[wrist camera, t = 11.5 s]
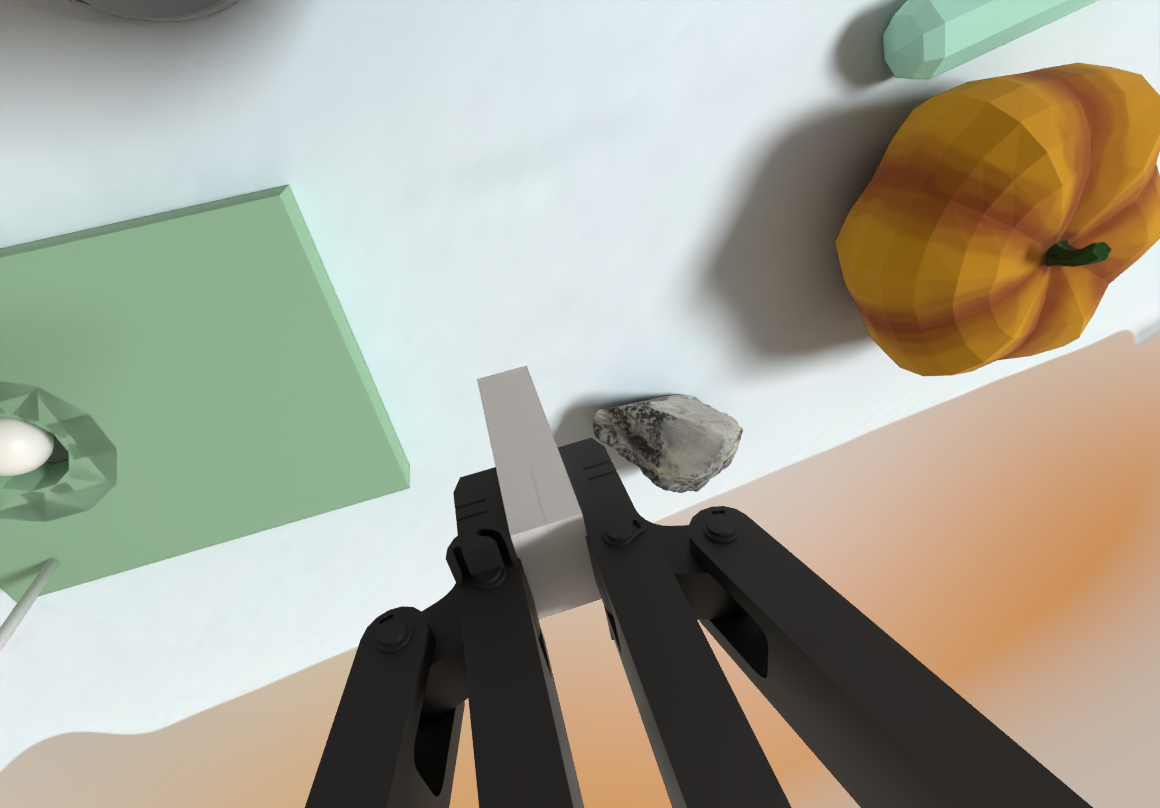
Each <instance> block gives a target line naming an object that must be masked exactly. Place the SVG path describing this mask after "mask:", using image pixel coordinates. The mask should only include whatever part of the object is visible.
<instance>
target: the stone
mask: <svg viewBox="0 0 1160 808" xmlns="http://www.w3.org/2000/svg"><path fill="white" fill-rule="evenodd" d="M593 430H594V434H595V436H596V437H597V438H598V439H599V440H600V441H601V442H604V443H606V444H608V445H609V446H611V447H613V448H615V449H616V450H617V451H618V454H619V455H621V456H623V457H625V458H626V459H627V460H628V461H629V462H632V463H634V464H636V465H637V466H639V467H640V469H641V471H642V472H643V474H644V475H645V476H646V477H648V479H650V480H651V481H652V483H654V484H655V485H656V486H658V487H660V488H662V489H663V490H668V491H673V492H679V493H683V492H686V491H688V490H689V491H696V492H697V491H699V490H700V489H701V488H702V487H703V486H705V485H706V484H707V482H708V481H709V480H710V479H711V478H713V477H714V476H716V475H717V474H719V473H720V472H721V471H722V470H723V469H725V468H727V467H728V466H729V465H730V464H731V462H732V459H733V457H734V455H735V453H736V451H737V449H738V444H739V442H740V439H741V434H742V432H743V430H742V428H741V427H739V425H738V422H737V421H736V420H735V419H734V418H732V417H731V416H729V415H728V414H726V413H722V412H719V411H717V410H716V409H714V408H712V407H711V406H709V405H706V404H704V403H702V402H701V401H700V400H699V399H697V398H696V397H693V396H688V395H682V394H676V395H671V396H662V397H659V398H653V399H650V400H646V401H640V402H636V403H631V404H627V405H622V406H617V407H609V408H604V409H600V410H598V411H597V412H596V415H595V417H594V419H593Z"/></svg>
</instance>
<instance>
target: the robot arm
mask: <svg viewBox="0 0 1160 808" xmlns="http://www.w3.org/2000/svg"><path fill="white" fill-rule="evenodd" d="M70 1H72V2H75V3H77V4H80V5H83V6H85V7H88V8H91V9H94V10H97V11H100V12H104V13H108V14H112V15H116V16H121V17H126V18H132V19H141V20H151V21H166V22H174V21H187V20H194V19H199V18H203V17H207V16H210V15H213V14H216V13H218V12H221V11H223V10H225V9H227V8H229V7H231V6H232V5H234V4H236V3H237V2H239V1H240V0H70ZM477 381H478V386H479V390H480V395H481V400H482V404H483V409H484V414H485V419H486V423H487V428H488V433H489V437H490V442H491V447H492V452H493V456H494V461H495V466H496V467H495V468H491V469H488V470H484V471H481V472H478V473H474V474H471V475H467V476H464V477H460V479H459V481H458V484H457V486H456V488H455V491H454V503H455V509H456V510H455V512H456V520H457V531H458V536H457V537H456V538H454V539H453V541H452V542H451V544H450V546H449V547H448V549H447V554H446V560H447V563H448V565H449V567H450V570H451V572H452V574H453V576H454V579H455V581H456V584H455V586H454V587H453V589H452V590H451V591H450V592H449V593H448V594H447V595H446V596H445V597H443V598H442V599H441V600H439V601H438V602H436V603H435V604H433V605H432V606H430V607H428V608H427V609H425V610H424V611H422V612H421V611H419V610H418V609H416V608H414V607H398V608H395V609H391V610H389V611H387V612H385V613H384V614H382V615H380V616H379V617H377V618H376V619H375V620H374V621H373V622H372V623H371V624H370V625H369V626H368V627H367V629H366V631H365V633H364V634H363V636H362V638H361V640H360V643H359V646H358V649H357V653H356V655H355V658H354V661H353V665H352V668H351V671H350V674H349V677H348V680H347V683H346V686H345V689H344V692H343V695H342V698H341V701H340V704H339V707H338V710H337V713H336V716H335V719H334V722H333V725H332V728H331V731H330V734H329V737H328V740H327V743H326V746H325V749H324V752H323V755H322V758H321V761H320V764H319V767H318V770H317V773H316V776H315V779H314V782H313V785H312V788H311V791H310V794H309V797H308V800H307V803H306V806H305V808H449V805H450V798H451V791H452V784H453V778H454V771H455V765H456V758H457V752H458V745H459V738H460V732H461V725H462V719H463V712H464V705H465V703H464V701H465V700H466V699H467V698H469V707H470V718H471V728H472V738H473V748H474V759H475V768H476V779H477V789H478V800H479V808H584V805H583V800H582V796H581V792H580V788H579V783H578V780H577V775H576V771H575V766H574V762H573V758H572V754H571V750H570V746H569V741H568V737H567V733H566V728H565V724H564V720H563V716H562V711H561V707H560V703H559V699H558V694H557V690H556V686H555V682H554V678H553V673H552V669H551V665H550V661H549V657H548V652H547V648H546V644H545V640H544V637H543V634H542V631H541V628H540V624H539V620H538V619H541V618H544V617H547V616H551V615H554V614H557V613H560V612H563V611H566V610H569V609H572V608H575V607H578V606H581V605H584V604H587V603H590V602H593V601H596V600H599V599H601V598H602V601H603V603H604V607H605V612H606V616H607V620H608V625H609V629H610V634H611V638H612V640H615V643H616V646H617V649H618V652H619V655H620V658H621V660H622V663H623V666H624V669H625V672H626V675H627V678H628V681H629V684H630V686H631V689H632V692H633V695H634V697H635V701H636V704H637V707H638V709H639V712H640V715H641V718H642V721H643V724H644V727H645V730H646V732H647V735H648V738H649V741H650V744H651V747H652V750H653V752H654V756H655V758H656V761H657V764H658V767H659V770H660V773H661V775H662V779H663V782H664V784H665V787H666V790H667V793H668V796H669V799H670V802H671V805H672V808H791V806H790V804H789V802H788V800H787V798H786V796H785V794H784V792H783V790H782V788H781V786H780V784H779V782H778V780H777V778H776V776H775V774H774V772H773V770H772V768H771V766H770V764H769V762H768V760H767V758H766V756H765V754H764V752H763V750H762V748H761V746H760V744H759V742H758V740H757V738H756V736H755V734H754V732H753V730H752V728H751V726H750V724H749V722H748V720H747V718H746V716H745V714H744V712H743V710H742V709H741V706H740V704H739V703H738V700H737V698H736V696H735V694H734V692H733V691H732V689H731V686H730V685H729V683H728V681H727V679H726V677H725V675H724V673H723V671H722V669H721V667H720V665H719V663H718V661H717V659H716V657H715V655H714V653H713V651H712V649H711V647H710V645H709V643H708V641H707V639H706V637H705V635H704V633H703V631H702V629H701V627H700V625H699V623H698V621H697V620H700V622H701V623H702V625H703V626H704V627H705V628H706V629H707V630H708V631H709V633H710V634H711V635H712V636H713V637H714V638H715V639H716V641H717V642H718V643H719V644H720V645H721V646H722V648H723V649H724V650H725V651H726V652H727V653H728V655H729V656H730V657H731V658H732V659H733V660H734V661H735V662H736V664H737V665H738V666H739V667H740V668H741V669H742V671H743V672H744V673H745V674H746V675H747V676H748V678H749V679H750V680H751V681H752V682H753V683H754V685H755V686H756V687H757V688H758V689H759V690H760V691H761V693H762V694H763V695H764V696H765V697H766V698H767V699H768V701H769V702H770V703H771V704H772V705H773V707H774V708H775V709H776V710H777V711H778V712H779V713H780V715H781V716H782V717H783V718H784V719H785V720H786V722H787V723H788V724H789V725H790V726H791V727H792V729H793V730H794V731H795V732H796V733H797V734H798V735H799V737H800V738H801V739H802V740H803V741H804V742H805V743H806V745H807V746H808V747H809V748H810V749H811V750H812V752H813V753H814V754H815V755H816V756H817V757H818V759H819V760H820V761H821V762H822V763H823V764H824V765H825V767H826V768H827V769H828V770H829V771H830V772H831V774H832V775H833V776H834V777H835V778H836V779H837V781H838V782H839V783H840V784H841V785H842V786H843V787H844V789H845V790H846V791H847V792H848V793H849V794H850V796H851V797H852V798H853V799H854V800H855V801H856V802H857V804H858V805H859V806H860V807H861V808H1093V807H1092V806H1090V805H1089V804H1088V803H1087V802H1086V801H1084V800H1083V799H1082V798H1081V797H1080V796H1079V795H1077V794H1076V793H1075V792H1074V791H1073V790H1071V789H1070V788H1069V787H1068V786H1067V785H1065V784H1064V783H1063V782H1062V781H1061V780H1060V779H1058V778H1057V777H1056V776H1055V775H1054V774H1052V773H1051V772H1050V771H1049V770H1048V769H1047V768H1045V767H1044V766H1043V765H1042V764H1041V763H1039V762H1038V761H1037V760H1036V759H1035V758H1034V757H1032V756H1031V755H1030V754H1029V753H1027V752H1026V751H1025V750H1024V749H1023V748H1022V747H1020V746H1019V745H1018V744H1017V743H1016V742H1015V741H1013V740H1012V739H1011V738H1010V737H1009V736H1007V735H1006V734H1005V733H1004V732H1003V731H1002V730H1000V729H999V728H998V727H997V726H996V725H994V724H993V723H992V722H991V721H990V720H988V719H987V718H986V717H985V716H984V715H983V714H981V713H980V712H979V711H978V710H977V709H975V708H974V707H973V706H972V705H971V704H969V703H968V702H967V701H966V700H965V699H964V698H962V697H961V696H960V695H959V694H957V693H956V692H955V691H954V690H953V689H952V688H951V687H949V686H948V685H947V684H946V683H944V682H943V681H942V680H941V679H940V678H939V677H938V676H936V675H935V674H934V673H933V672H932V671H930V670H929V669H928V668H927V667H926V666H925V665H923V664H922V663H921V662H920V661H918V660H917V659H916V658H915V657H914V656H913V655H911V654H910V653H909V652H908V651H907V650H905V649H904V648H903V647H902V646H901V645H900V644H898V643H897V642H896V641H895V640H894V639H893V638H891V637H890V636H889V635H888V634H887V633H885V632H884V631H883V630H882V629H881V628H879V627H878V626H877V625H876V624H875V623H874V622H872V621H871V620H870V619H869V618H868V617H866V616H865V615H864V614H863V613H862V612H860V611H859V610H858V609H857V608H856V607H855V606H853V605H852V604H851V603H850V602H849V601H847V600H846V599H845V598H844V597H843V596H842V595H840V594H839V593H838V592H837V591H836V590H834V589H833V588H832V587H831V586H830V585H828V584H827V583H826V582H825V581H824V580H823V579H821V578H820V577H819V576H818V575H817V574H815V573H814V572H813V571H812V570H811V569H810V568H808V567H807V566H806V565H805V564H804V563H802V562H801V561H800V560H799V559H798V558H797V557H795V556H794V555H793V554H792V553H791V552H789V551H788V550H787V549H786V548H785V547H784V546H782V545H781V544H780V543H779V542H778V541H776V540H775V539H774V538H773V537H772V536H770V535H769V534H768V533H767V532H766V531H765V530H763V529H762V528H761V527H760V526H759V525H757V524H756V523H755V522H754V521H753V520H752V519H750V518H749V517H748V516H747V515H745V514H744V513H742V512H740V511H738V510H737V509H734V508H730V507H725V506H720V507H710V508H707V509H704V510H701V511H700V512H699V513H697V514H696V515H695V516H694V517H693V518H692V520H691V522H690V524H689V525H685V526H662V525H657V524H653V523H651V522H649V521H647V520H645V519H644V518H643V517H641V516H640V515H639V514H638V512H637V511H636V509H635V508H634V506H633V503H632V501H631V499H630V497H629V495H628V493H627V491H626V489H625V487H624V485H623V483H622V481H621V479H620V477H619V475H618V473H617V472H616V469H615V467H614V465H613V463H612V462H611V459H610V457H609V455H608V453H607V451H606V449H605V447H604V446H602V445H601V444H600V443H598V442H597V441H595V440H594V439H592V438H589V439H586V440H582V441H579V442H576V443H572V444H569V445H565V446H562V447H559V448H557V445H556V443H555V440H554V437H553V435H552V432H551V429H550V427H549V424H548V421H547V419H546V416H545V413H544V411H543V408H542V405H541V403H540V400H539V397H538V395H537V392H536V389H535V387H534V384H533V382H532V379H531V376H530V374H529V371H528V368H527V366H524V367H520V368H517V369H513V370H509V371H506V372H502V373H498V374H495V375H491V376H487V377H484V378H480V379H477Z"/></svg>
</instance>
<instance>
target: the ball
mask: <svg viewBox="0 0 1160 808" xmlns="http://www.w3.org/2000/svg"><path fill="white" fill-rule="evenodd" d="M53 449H54V436H53V434H52V433H51V432H49V431H47V430H45V429H43V428H41V427H39V426H37V425H35V424H33V423H31V422H29V421H27V420H22V419H14V418H6V417H0V476H15V475H21V474H25V473H28V472H30V471H33V470H35V469H37V468H38V467H40V466H41V465H42V464H44V463H45V462H46V461H47V460H48V458H49V457H50V455H51V454H52V451H53Z"/></svg>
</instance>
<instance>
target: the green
mask: <svg viewBox="0 0 1160 808" xmlns="http://www.w3.org/2000/svg"><path fill="white" fill-rule="evenodd" d="M0 417H6V418H14V419H22V420H27V421H29V422H31V423H33V424H35V425H37V426H39V427H41V428H43V429H45V430H47V431H49V432H51V433H53V434H54V435H55V437H56V438H57V439H58V440H59V441H60V443H61V444H62V445H63V446H64V447H65V448H66V450H67V451H68V455H69V460H66V461H62V462H58V463H44V464H42V465H41V466H40V467H38V468H37V469H35V470H33V471H30V472H28V473H25V474H21V475H15V476H0V588H1V589H2V590H3V591H4V592H6V593H7V594H8V595H9V596H10V597H11V598H12V599H13V600H15V601H16V602H17V605H16V606H15V607H14V609H13V610H12V612H11V613H10V615H9V616H8V617H7V619H6V620H5V622H4V623H3V625H2V626H1V627H0V652H1V650H2V649H3V647H4V646H5V644H6V643H7V641H8V640H9V638H10V637H11V635H12V634H13V632H14V631H15V629H16V628H17V626H18V625H19V623H20V622H21V620H22V619H23V617H24V616H25V614H26V613H27V611H28V610H29V608H30V607H31V605H32V604H33V602H34V601H35V599H36V598H37V597H38V596H42V595H45V594H48V593H52V592H55V591H59V590H62V589H66V588H69V587H72V586H76V585H79V584H83V583H86V582H90V581H93V580H96V579H100V578H103V577H107V576H110V575H114V574H117V573H120V572H124V571H127V570H131V569H134V568H138V567H141V566H144V565H148V564H151V563H155V562H158V561H162V560H165V559H168V558H172V557H175V556H179V555H182V554H186V553H189V552H192V551H196V550H199V549H203V548H206V547H210V546H213V545H216V544H220V543H223V542H227V541H230V540H234V539H237V538H240V537H244V536H247V535H251V534H254V533H258V532H261V531H264V530H268V529H271V528H275V527H278V526H282V525H285V524H288V523H292V522H295V521H299V520H302V519H306V518H309V517H312V516H316V515H319V514H323V513H326V512H330V511H333V510H336V509H340V508H343V507H347V506H350V505H354V504H357V503H360V502H364V501H367V500H371V499H374V498H378V497H381V496H384V495H388V494H391V493H395V492H398V491H402V490H405V489H408V488H410V465H409V462H408V460H407V458H406V455H405V453H404V451H403V448H402V446H401V444H400V441H399V439H398V437H397V434H396V432H395V430H394V427H393V425H392V423H391V420H390V418H389V416H388V413H387V411H386V409H385V407H384V404H383V402H382V400H381V397H380V395H379V393H378V390H377V388H376V386H375V383H374V381H373V379H372V376H371V374H370V372H369V369H368V367H367V365H366V362H365V360H364V358H363V355H362V353H361V351H360V348H359V346H358V344H357V342H356V339H355V337H354V335H353V332H352V330H351V328H350V325H349V323H348V321H347V318H346V316H345V314H344V311H343V309H342V307H341V304H340V302H339V300H338V297H337V295H336V293H335V290H334V288H333V286H332V283H331V281H330V279H329V277H328V274H327V272H326V270H325V267H324V265H323V263H322V260H321V258H320V256H319V253H318V251H317V249H316V246H315V244H314V242H313V239H312V237H311V235H310V232H309V230H308V228H307V225H306V223H305V221H304V218H303V216H302V214H301V212H300V209H299V207H298V205H297V202H296V200H295V198H294V195H293V193H292V191H291V188H290V186H289V185H285V186H280V187H276V188H271V189H267V190H262V191H258V192H253V193H249V194H244V195H240V196H235V197H231V198H226V199H222V200H217V201H213V202H208V203H204V204H199V205H195V206H190V207H186V208H181V209H177V210H172V211H168V212H163V213H159V214H154V215H150V216H145V217H141V218H136V219H132V220H128V221H123V222H119V223H114V224H110V225H105V226H101V227H96V228H92V229H87V230H83V231H78V232H74V233H69V234H65V235H60V236H56V237H51V238H47V239H42V240H38V241H33V242H29V243H24V244H20V245H15V246H11V247H6V248H2V249H0Z"/></svg>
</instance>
